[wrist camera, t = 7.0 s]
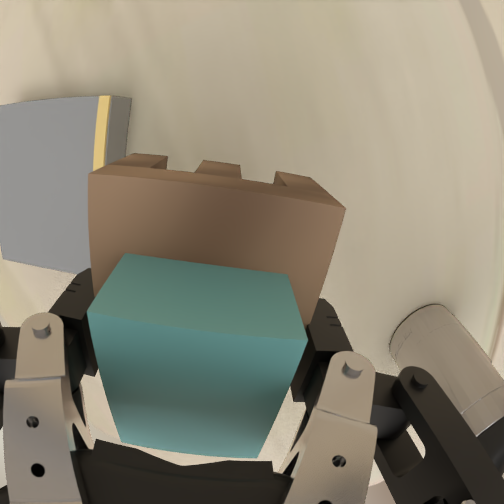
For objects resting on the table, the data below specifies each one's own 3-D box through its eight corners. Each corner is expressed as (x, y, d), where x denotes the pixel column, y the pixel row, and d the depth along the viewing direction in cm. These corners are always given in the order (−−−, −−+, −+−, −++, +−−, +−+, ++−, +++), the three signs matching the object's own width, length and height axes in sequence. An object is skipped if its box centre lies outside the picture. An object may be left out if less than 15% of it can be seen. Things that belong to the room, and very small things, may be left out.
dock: (131, 98, 20) (111, 95, 16) (122, 257, 26) (106, 281, 22) (20, 104, 18) (-8, 106, 14) (24, 241, 24) (1, 260, 20)
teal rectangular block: (287, 274, 7) (307, 340, 5) (252, 398, 9) (256, 458, 7) (125, 252, 7) (86, 311, 5) (136, 384, 9) (121, 442, 7)
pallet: (310, 177, 10) (346, 208, 7) (261, 368, 14) (267, 429, 10) (134, 153, 9) (88, 173, 6) (135, 352, 13) (117, 411, 10)
